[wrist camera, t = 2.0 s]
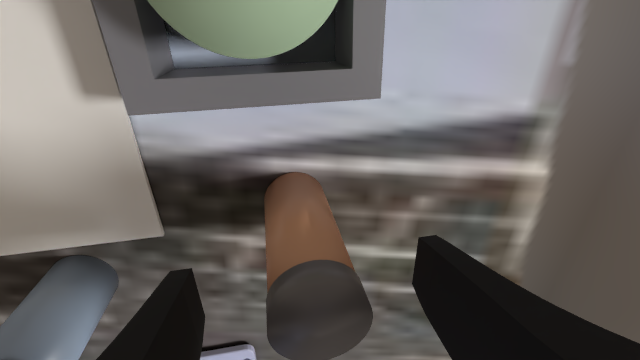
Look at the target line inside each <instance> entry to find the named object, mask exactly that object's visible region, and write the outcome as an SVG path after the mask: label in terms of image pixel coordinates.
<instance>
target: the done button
mask: <svg viewBox="0 0 640 360" xmlns="http://www.w3.org/2000/svg"><path fill="white" fill-rule="evenodd" d="M147 1H148V2H149V3H150V5H151V6H152V7H153V8H154V9H155V10H156V12H157V13H158V14H159V15H160V16H161V17H162V18H163V19H164V20H165V21H166V22H167V23H168V24H169V25H170V26H171V27H172V28H173V29H175V30H176V31H177V32H179V33H180V34H181V35H183V36H184V37H185V38H187V39H188V40H190V41H192V42H194V43H195V44H197V45H199V46H200V47H203V48H205V49H207V50H210V51H212V52H214V53H218V54H221V55H225V56H228V57H234V58H241V59H258V58H267V57H271V56H275V55H279V54H282V53H284V52H286V51H289V50H291V49H293V48H295V47H296V46H298V45H300V44H301V43H303V42H304V41H306V40H307V39H308V38H309V37H311V36H312V35H313V34H314V33H315V32H316V31H317V30H318V29H319V28H320V27H321V26H322V25H323V23H324V22H325V21H326V19H327V18H328V17H329V15H330V14H331V12H332V11H333V9H334V7H335V5H336V3H337V2H338V0H147Z"/></svg>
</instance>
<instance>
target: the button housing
mask: <svg viewBox="0 0 640 360" xmlns="http://www.w3.org/2000/svg"><path fill="white" fill-rule="evenodd" d="M93 4H94V7H95V10H96V13H97V17H98V20H99V23H100V26H101V30H102V33H103V36H104V39H105V43H106V46H107V49H108V52H109V56H110V59H111V62H112V65H113V69H114V72H115V75H116V78H117V82H118V85H119V88H120V91H121V95H122V98H123V101H124V104H125V108H126V111H127V114H128V115H143V114H158V113H172V112H187V111H202V110H216V109H231V108H246V107H260V106H275V105H289V104H304V103H319V102H333V101H348V100H363V99H377V98H381V80H382V63H383V45H384V28H385V10H386V0H338V2H337V3H336V5H335V61H330V62H309V63H289V64H269V65H249V66H228V67H208V68H188V69H174V65H173V60H172V56H171V51H170V47H169V43H168V38H167V34H166V29H165V25H164V20H163V18H162V17H161V16H160V15H159V14H158V13H157V12H156V10H155V9H154V8H153V7H152V6H151V5H150V3H149V2H148V1H147V0H93Z"/></svg>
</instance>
